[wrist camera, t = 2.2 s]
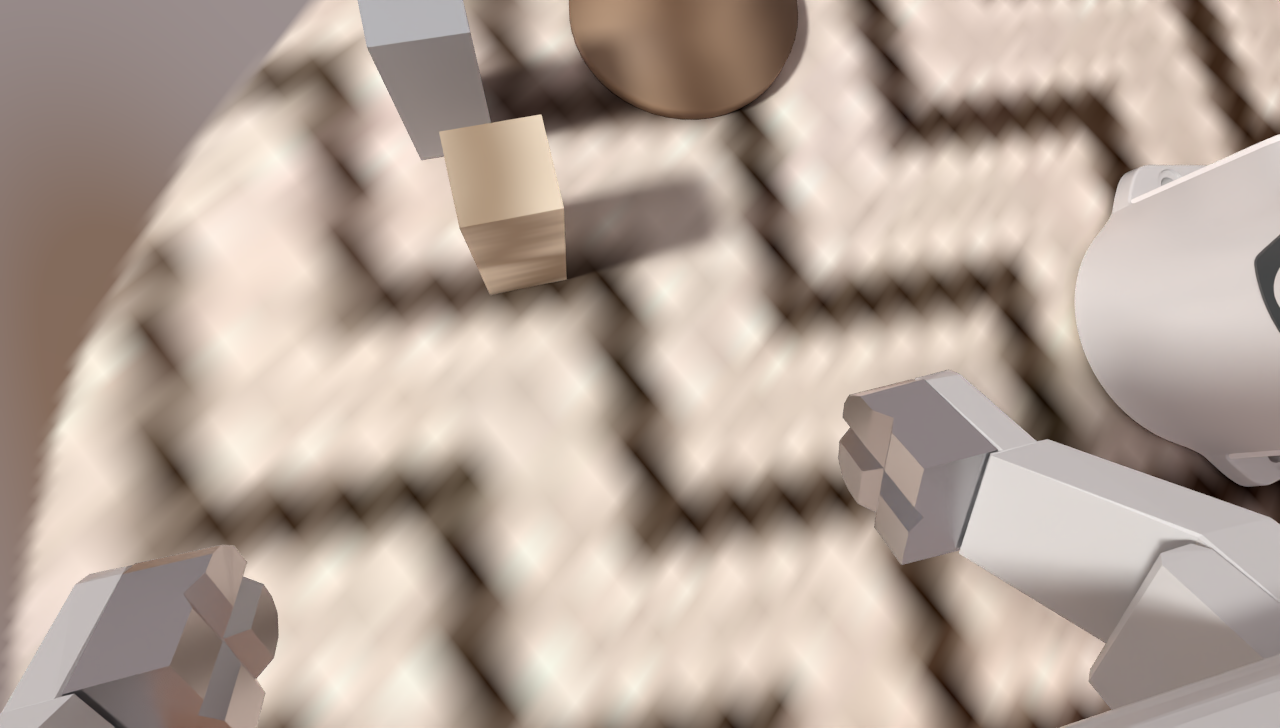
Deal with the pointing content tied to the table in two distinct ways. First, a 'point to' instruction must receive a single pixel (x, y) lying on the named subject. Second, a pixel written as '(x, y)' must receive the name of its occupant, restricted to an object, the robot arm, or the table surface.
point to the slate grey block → (426, 66)
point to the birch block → (508, 202)
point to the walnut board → (685, 51)
